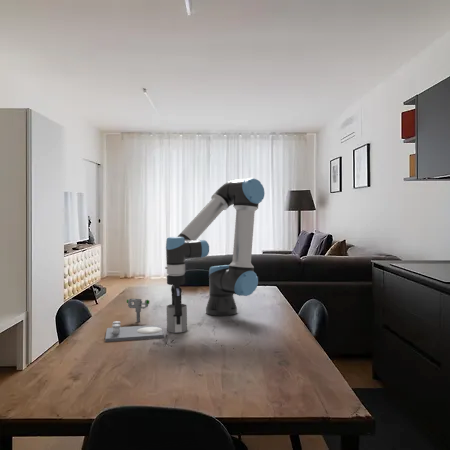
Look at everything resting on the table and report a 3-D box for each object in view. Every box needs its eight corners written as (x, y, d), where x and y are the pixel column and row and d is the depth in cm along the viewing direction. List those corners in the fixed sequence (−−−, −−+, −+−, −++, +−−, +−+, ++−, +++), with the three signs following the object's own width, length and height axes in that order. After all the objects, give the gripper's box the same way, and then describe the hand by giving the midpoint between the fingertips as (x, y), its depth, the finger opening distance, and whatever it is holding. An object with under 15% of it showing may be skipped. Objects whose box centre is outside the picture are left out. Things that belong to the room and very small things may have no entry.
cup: (167, 327, 186) (167, 304, 185) (187, 326, 186) (186, 303, 186) (166, 333, 177) (166, 308, 177) (187, 332, 178) (186, 307, 178)
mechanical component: (147, 322, 195) (147, 300, 195) (126, 321, 197) (125, 299, 197) (150, 321, 198) (150, 299, 198) (129, 320, 200) (128, 298, 200)
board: (160, 327, 187) (160, 316, 187) (163, 337, 171) (163, 325, 171) (107, 330, 182) (106, 319, 182) (105, 341, 167) (105, 329, 167)
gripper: (164, 271, 190) (165, 323, 191) (169, 278, 170) (170, 336, 171) (181, 270, 192) (183, 322, 193) (188, 277, 171) (189, 335, 172)
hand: (177, 328), depth 182 cm, fingers closed on cup, 8 cm apart
